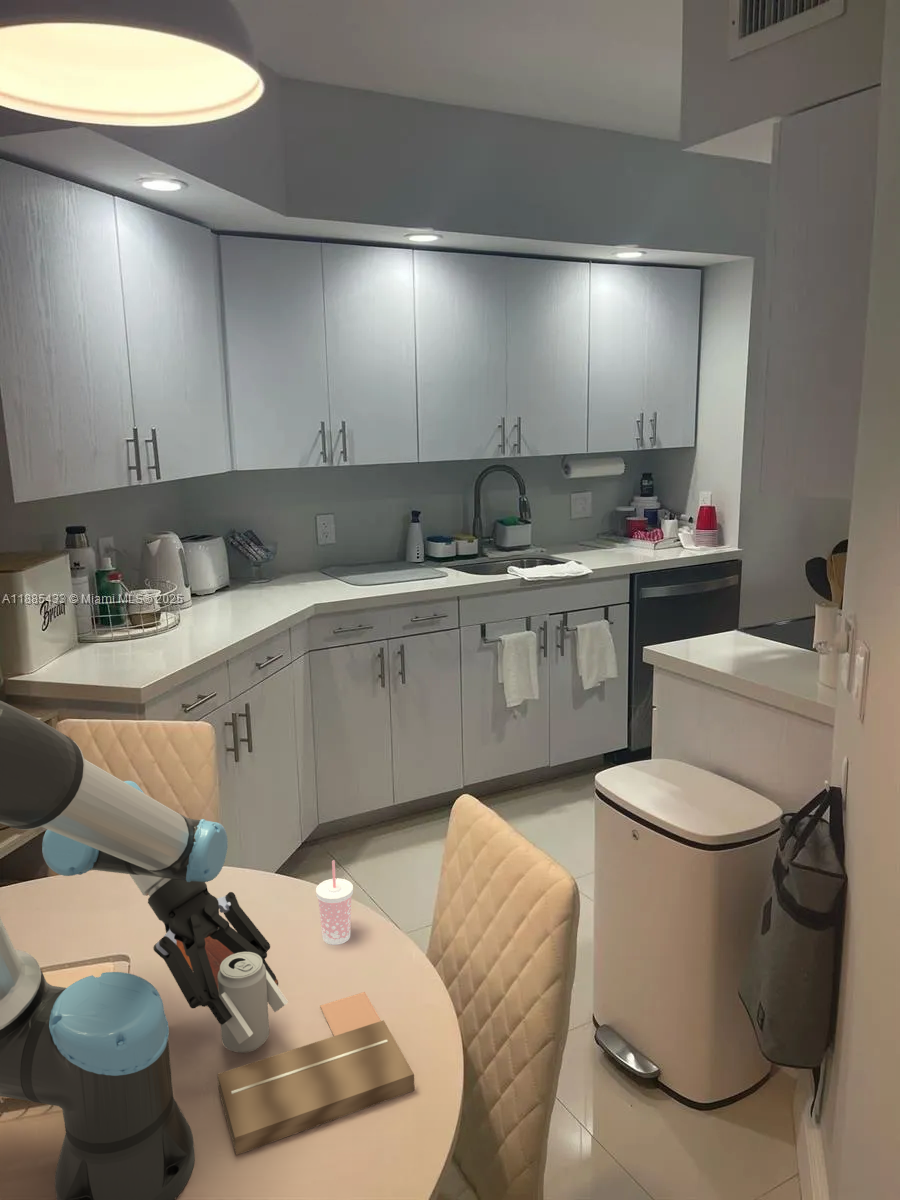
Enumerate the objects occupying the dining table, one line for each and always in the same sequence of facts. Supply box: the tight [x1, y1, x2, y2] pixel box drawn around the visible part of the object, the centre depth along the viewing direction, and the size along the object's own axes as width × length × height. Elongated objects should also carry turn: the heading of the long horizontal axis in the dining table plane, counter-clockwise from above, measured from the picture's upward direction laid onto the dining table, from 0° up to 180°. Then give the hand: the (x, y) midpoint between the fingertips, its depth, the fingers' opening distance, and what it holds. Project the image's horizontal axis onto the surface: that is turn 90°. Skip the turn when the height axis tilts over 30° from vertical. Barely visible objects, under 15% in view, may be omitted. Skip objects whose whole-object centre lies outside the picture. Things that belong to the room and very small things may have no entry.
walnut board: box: [217, 1019, 415, 1156], centre depth 113 cm, size 23×11×3 cm, turn 115°
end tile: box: [319, 991, 382, 1037], centre depth 127 cm, size 7×7×1 cm
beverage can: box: [218, 952, 270, 1054], centre depth 119 cm, size 6×6×12 cm
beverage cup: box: [315, 859, 354, 946], centre depth 143 cm, size 6×6×14 cm
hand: (264, 1022), depth 117 cm, fingers closed on beverage can, 6 cm apart
